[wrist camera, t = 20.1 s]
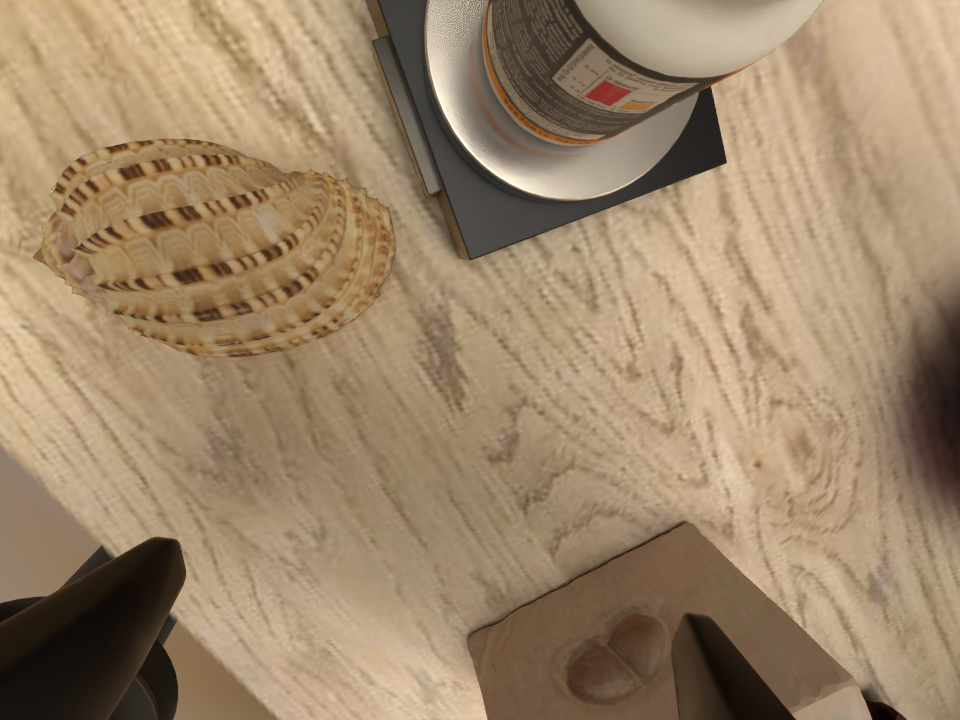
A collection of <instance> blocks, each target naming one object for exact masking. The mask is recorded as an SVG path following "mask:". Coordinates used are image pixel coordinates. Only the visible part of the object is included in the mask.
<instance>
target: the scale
mask: <svg viewBox="0 0 960 720" xmlns="http://www.w3.org/2000/svg"><path fill="white" fill-rule="evenodd" d="M366 3H367V6H368V9H369V11H370V14H371V17H372V20H373V22H374V25H375V28H376V31H377V33H378V36H379V38H378V39H375V40H373V41H372V47H373V58H374V60H375V63H376V66H377V68H378V71H379V74H380V77H381V79H382V82H383V85H384V87H385V90H386V93H387V96H388V98H389V101H390V104H391V106H392V109H393V112H394V115H395V117H396V120H397V123H398V125H399V128H400V131H401V134H402V136H403V139H404V142H405V144H406V147H407V150H408V153H409V155H410V158H411V161H412V163H413V166H414V169H415V172H416V174H417V177H418V180H419V182H420V185H421V188H422V190H423V193H424V196H425V198H426V199H428V198H431V197H433V196H437V199H438V202H439V204H440V207H441V210H442V213H443V215H444V218H445V221H446V224H447V226H448V229H449V232H450V235H451V237H452V240H453V243H454V246H455V248H456V251H457V254H458V257H459V258H460V259H466V260H473V259H476V258H478V257H481V256H484V255H486V254H489V253H492V252H494V251H497V250H500V249H502V248H505V247H507V246H510V245H513V244H515V243H518V242H521V241H523V240H526V239H528V238H531V237H534V236H536V235H539V234H542V233H544V232H547V231H550V230H552V229H555V228H557V227H560V226H563V225H565V224H568V223H571V222H573V221H576V220H579V219H581V218H584V217H586V216H589V215H592V214H594V213H597V212H600V211H602V210H605V209H608V208H610V207H613V206H615V205H618V204H621V203H623V202H626V201H629V200H631V199H634V198H636V197H639V196H642V195H644V194H647V193H650V192H652V191H655V190H658V189H660V188H663V187H665V186H668V185H671V184H673V183H676V182H679V181H681V180H684V179H687V178H689V177H692V176H694V175H697V174H700V173H702V172H705V171H708V170H710V169H713V168H716V167H718V166H721V165H723V164H726V163H727V161H726V156H725V151H724V146H723V142H722V137H721V132H720V127H719V123H718V118H717V113H716V108H715V104H714V99H713V94H712V89H711V86H710V87H708V88H706V89H703V90H702V91H700V92H698V93H696V94H694V95H692V96H690V97H688V98H687V99H685V100H683V101H681V102H680V103H678V104H676V105H674V106H672V107H670V108H668V109H666V110H665V111H662V112H661V113H659V114H657V115H655V116H653V117H651V118H649V119H647V120H646V121H644V122H641V123H640V124H638V125H636V126H634V127H632V128H630V129H629V130H627V131H625V132H623V133H621V134H619V135H617V136H615V137H613V138H610V139H607V140H605V141H603V142H600V143H596V144H592V145H584V146H564V145H557V144H553V143H550V142H547V141H545V140H542V139H540V138H538V137H536V136H534V135H533V134H531V133H529V132H528V131H526V130H525V129H523V128H522V127H520V126H519V125H518V124H517V123H516V122H515V121H514V120H513V119H512V118H511V116H510V115H509V114H508V113H507V112H506V110H505V109H504V108H503V106H502V105H501V103H500V102H499V100H498V99H497V97H496V95H495V93H494V91H493V89H492V87H491V84H490V81H489V78H488V75H487V71H486V68H485V64H484V57H483V49H482V27H483V20H484V15H485V9H486V6H487V3H488V0H366Z"/></svg>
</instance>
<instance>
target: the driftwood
mask: <svg viewBox="0 0 960 720" xmlns="http://www.w3.org/2000/svg"><path fill="white" fill-rule="evenodd" d="M864 700H865V702H866V705H867V707H868V710H869V713H870V715H871V718H872V720H907V719H906V718H905V717H904V716H902V715H901V714H900V713H899V712H897V711H896V710H894V709H893V708H892V707H890V706H888V705H886V704H884V703H882V702H872V701H869V700H866V699H864Z"/></svg>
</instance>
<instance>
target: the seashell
mask: <svg viewBox="0 0 960 720" xmlns="http://www.w3.org/2000/svg"><path fill="white" fill-rule="evenodd" d="M52 191H53V192H51V193H49V195H50V196H51V197H52V199H53V200H54V202H55V205H56V207H57V211H56V212H55V213H53V215H52V216H51V218H50V219H49V220H48V222H47V223H46V224H45V225H44V226H43V227H42V230H41V231H42V233H43V235H44V237H45V238H44V240H43V241H42V243H41V248H40V249H39V250H38V252H37V253H36V254H35V255H34V256H33V258H34V259H36V260H38V261H40V262H42V263H43V264H45V265H47V266H48V267H50V269H51V270H52V272H53V273H54V274H55V276H58V277H60V278H62V279H65V284H66V285H69V286H72V287H73V289H72V293H73V294H78V295H80V296H83V297H85V298H87V299H89V300H91V301H94V302H98V303H100V304H102V305H104V306H105V307H107V309H108V311H109V313H112V314H119V315H120V316H121V317H122V319H123V320H124V322H125V324H126V325H127V327H128V329H132V330H133V332H134V334H138V335H141V336H145V337H149V338H152V339H154V340H157V341H159V342H162V343H164V344H167V345H169V346H171V347H173V348H175V349H176V350H178V351H181V352H185V353H189V354H193V355H199V356H208V357H242V356H252V355H260V354H265V353H271V352H276V351H281V350H284V349H287V348H291V347H295V346H298V345H301V344H304V343H307V342H311V341H313V340H315V339H318V338H320V337H323V336H325V335H327V334H329V333H331V332H333V331H335V330H337V329H338V328H340V327H342V326H344V325H345V324H347V323H349V322H350V321H352V320H353V319H355V318H356V317H357V316H359V315H360V314H361V313H362V312H364V311H365V310H366V309H367V308H368V307H369V306H371V304H372V303H373V302H374V301H375V299H376V298H377V297H378V296H379V295H380V293H379V292H377V291H378V289H379V287H380V285H381V284H382V283H383V281H384V280H385V279H386V277H387V276H389V275H390V269H391V265H392V262H393V259H394V256H395V249H396V248H395V235H394V230H393V225H392V220H391V216H390V211H389V208H388V207H384V206H383V205H382V204H380V202H379V200H378V199H377V198H375V199H371V198H369V197H368V196H367V191H366V189H365V188H362V189H356V188H354V187H352V186H351V184H350V182H349V181H348V179H346V178H345V179H344V180H343V181H336V180H335V179H334V178H333V177H331V176H330V175H329V174H328V173H327V172H324V173H323V175H322V174H318V173H316V172H314V171H312V170H309V171H308V172H306V173H304V174H303V173H300V172H291V173H290V174H288V175H287V174H284V173H282V172H280V171H279V170H278V169H277V168H276V167H274V166H273V165H272V164H270V163H267V162H265V161H262V160H258V159H254V158H250V157H247V156H245V155H243V154H241V153H239V152H237V151H235V150H233V149H230V148H227V147H225V146H222V145H218V144H215V143H211V142H205V141H199V140H189V139H158V140H148V141H138V142H129V143H124V144H120V145H116V146H111V147H106V148H101V149H98V150H96V151H94V152H91V153H88V154H85V155H83V156H82V157H80V158H79V159H77V160H76V161H74V162H72V163H71V164H70V166H69V167H68V168H66V170H65V171H64V172H63V174H62V175H61V177H60V178H59V179H58V182H57V183H56V185H55V186H54V188H52Z"/></svg>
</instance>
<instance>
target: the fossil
mask: <svg viewBox="0 0 960 720" xmlns="http://www.w3.org/2000/svg"><path fill="white" fill-rule="evenodd" d="M686 612H691V613H698V614H705V615H708V616H710V617H711V618H712V619H713V620H714V621H715V622H716V623H717V625H718V626H719V627H720V628H721V629H722V631H723V632H724V633H725V634H726V636H727V637H728V638H729V639H730V640H731V642H732V643H733V644H734V645H735V646H736V648H737V649H738V650H739V651H740V652H741V654H742V655H743V656H744V657H745V658H746V660H747V661H748V662H749V663H750V665H751V666H752V667H753V668H754V669H755V671H756V672H757V673H758V674H759V675H760V677H761V678H762V679H763V680H764V681H765V683H766V684H767V685H768V686H769V687H770V689H771V690H772V691H773V692H774V693H775V695H776V696H777V697H778V698H779V700H780V701H781V702H782V703H783V704H784V706H785V707H786V708H787V709H788V710H789V712H790V713H791V714H792V715H793V716H794V718H795V719H796V720H872V718H871V715H870V713H869V710H868V707H867V705H866V702H865V700H864V698H863V696H862V694H861V692H860V687H859V685H858V684H857V682H856V681H855V679H854V678H853V676H852V675H851V674H849V673H848V672H847V671H846V670H845V669H844V668H843V667H842V666H841V665H840V664H838V663H837V662H836V661H835V660H834V659H833V658H832V657H831V656H830V655H829V654H828V653H827V652H826V651H824V650H823V649H822V648H821V647H820V646H819V645H818V644H817V643H816V642H815V640H814V639H812V638H811V637H810V636H809V635H808V634H807V633H806V632H805V631H804V630H803V629H802V628H801V627H800V626H799V625H798V624H797V623H796V622H795V621H794V620H793V619H792V618H790V617H789V616H788V615H787V614H786V613H785V612H784V611H783V610H782V609H781V608H780V607H779V606H778V605H777V604H776V603H774V602H773V601H772V600H771V599H770V598H769V597H767V596H766V595H765V594H764V593H763V592H762V591H761V590H760V589H759V588H758V587H757V586H756V585H755V584H754V583H753V582H751V581H750V580H749V579H748V578H747V577H746V576H745V575H743V574H742V573H741V572H740V571H739V570H738V569H737V568H736V567H735V566H734V565H733V564H732V563H731V562H730V561H729V560H728V559H727V558H726V557H725V556H724V555H723V554H722V553H721V552H720V551H719V550H718V549H717V548H716V547H715V546H714V545H713V544H712V543H711V542H710V541H708V540H707V539H706V538H705V537H704V536H703V535H702V533H701V532H700V531H699V530H698V529H697V528H696V526H695V525H694V524H692V523H684V524H683V525H681V526H680V527H677V528H675V529H673V530H672V531H670V532H669V533H668V534H665V535H661V536H660V537H658V538H656V539H654V540H652V541H650V542H648V543H647V544H645V545H643V546H641V547H639V548H637V549H635V550H632V551H630V552H628V553H626V554H624V555H622V556H620V557H618V558H616V559H614V560H611V561H609V562H608V563H607V564H605V565H604V566H602V567H600V568H598V569H596V570H594V571H591V572H589V573H588V574H587V575H583V576H581V577H579V578H577V579H575V580H574V581H573V582H571V583H570V584H569V585H567V586H566V587H564V588H561V589H558V590H556V591H554V592H552V593H550V594H548V595H546V596H544V597H542V598H540V599H538V600H536V601H534V602H533V603H531V604H530V605H526V606H523V607H521V608H520V609H518V610H516V611H515V612H513V613H511V614H510V615H509V616H508V617H506V618H505V619H504V620H503V621H502V622H500V623H498V624H496V625H493V626H490V627H487V628H484V629H482V630H480V631H477V632H475V633H474V634H472V635H471V636H470V637H469V638H468V639H467V646H468V649H469V652H470V654H471V657H472V659H473V663H474V667H475V671H476V675H477V678H478V681H479V685H480V688H481V692H482V696H483V701H484V705H485V710H486V714H487V718H488V720H679V715H678V707H677V700H676V692H675V684H674V676H673V668H672V660H671V645H672V641H673V638H674V636H675V633H676V630H677V628H678V625H679V623H680V620H681V617H682V616H683V614H684V613H686Z"/></svg>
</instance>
